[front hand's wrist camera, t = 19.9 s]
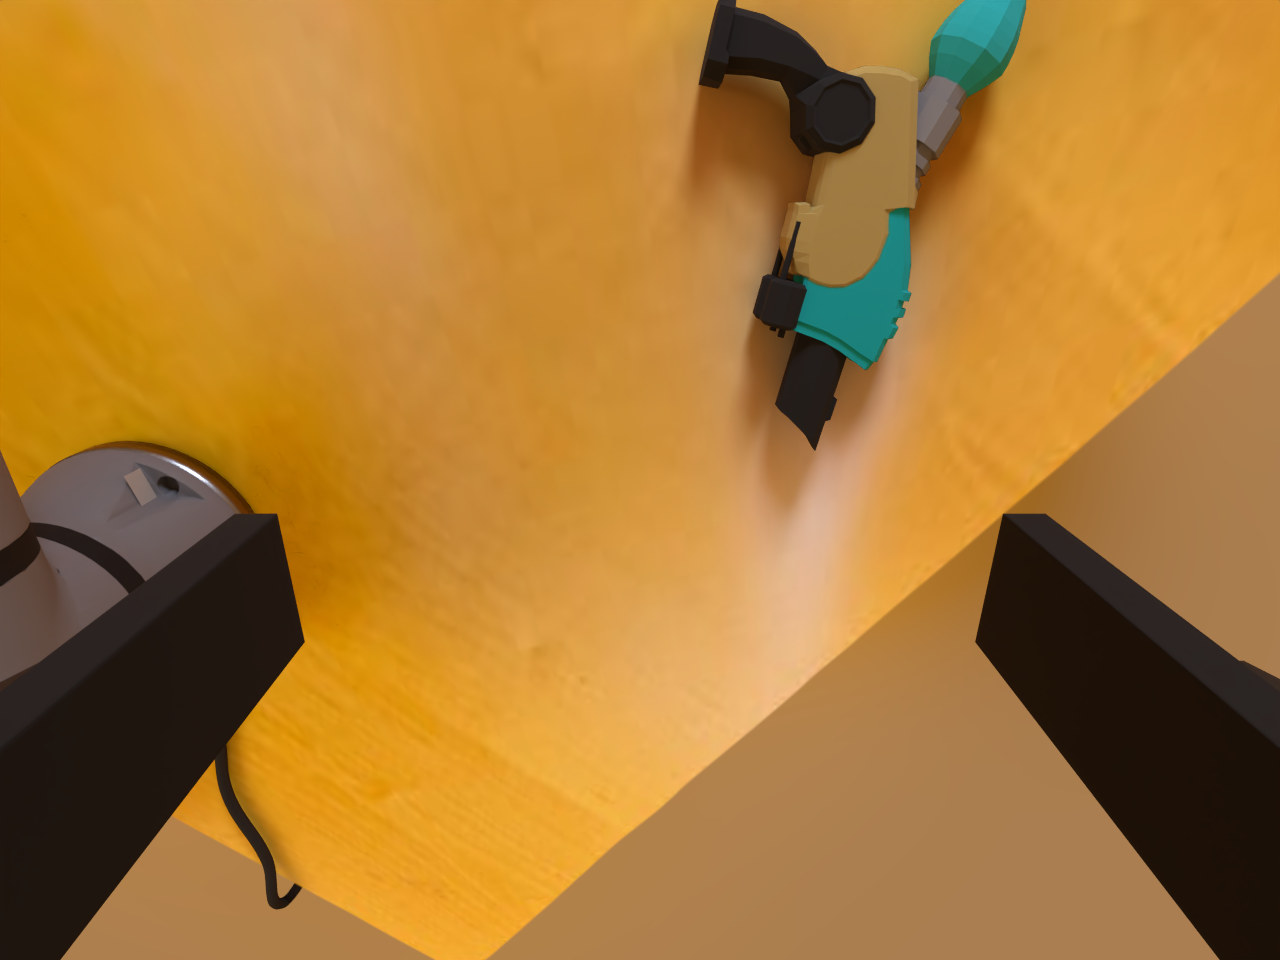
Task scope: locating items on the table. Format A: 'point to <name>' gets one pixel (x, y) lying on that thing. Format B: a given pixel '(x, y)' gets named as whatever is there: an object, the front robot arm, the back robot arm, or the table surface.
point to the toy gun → (853, 182)
